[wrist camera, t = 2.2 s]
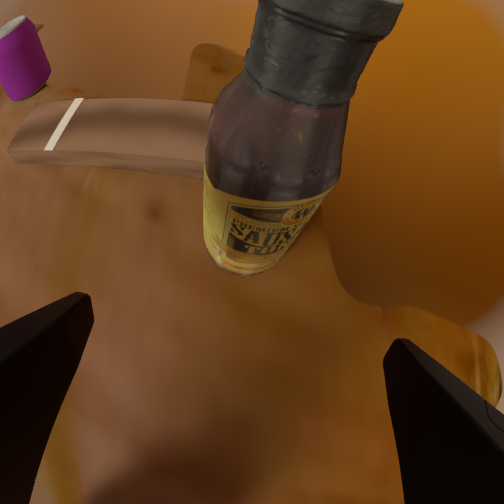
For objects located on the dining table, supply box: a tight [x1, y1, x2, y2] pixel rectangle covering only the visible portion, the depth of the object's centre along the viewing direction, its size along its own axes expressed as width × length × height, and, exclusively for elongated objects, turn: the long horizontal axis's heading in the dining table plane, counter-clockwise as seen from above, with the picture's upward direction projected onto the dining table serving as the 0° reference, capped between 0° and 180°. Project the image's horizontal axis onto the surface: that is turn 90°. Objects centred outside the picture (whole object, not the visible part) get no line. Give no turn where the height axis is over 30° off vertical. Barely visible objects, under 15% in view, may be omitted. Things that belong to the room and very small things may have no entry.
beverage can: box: [0, 15, 51, 101], centre depth 21 cm, size 8×8×12 cm
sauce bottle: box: [203, 0, 403, 276], centre depth 14 cm, size 6×6×20 cm
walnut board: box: [7, 98, 213, 179], centre depth 24 cm, size 7×32×3 cm, turn 82°
